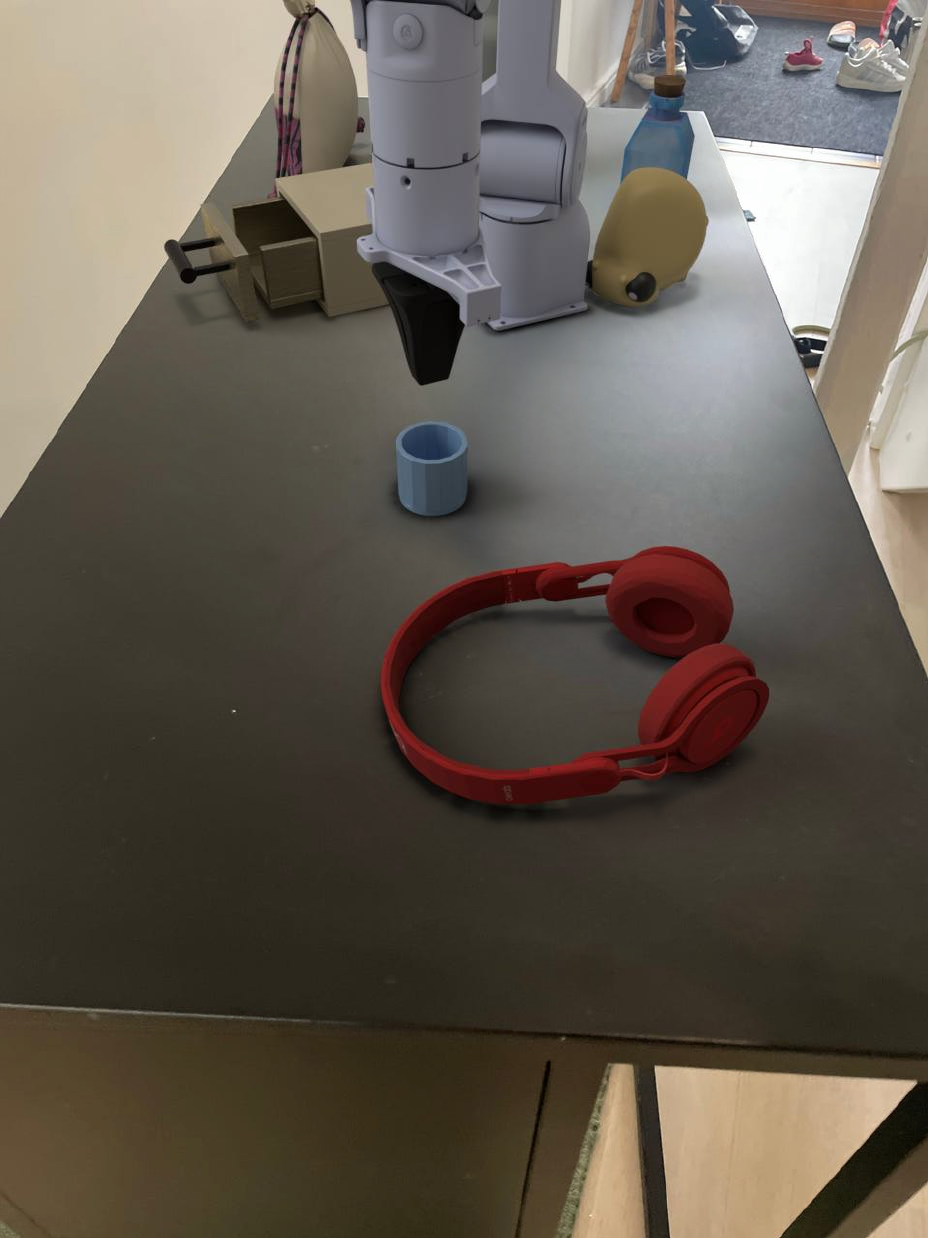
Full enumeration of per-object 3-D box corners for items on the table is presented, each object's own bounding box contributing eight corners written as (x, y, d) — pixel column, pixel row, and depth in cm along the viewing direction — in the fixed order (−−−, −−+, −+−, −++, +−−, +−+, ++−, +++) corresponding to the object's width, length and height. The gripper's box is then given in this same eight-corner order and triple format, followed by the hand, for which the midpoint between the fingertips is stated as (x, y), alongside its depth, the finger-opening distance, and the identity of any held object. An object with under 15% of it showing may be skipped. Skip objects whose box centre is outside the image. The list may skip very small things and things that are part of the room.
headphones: (709, 594, 57) (394, 639, 58) (717, 507, 52) (371, 558, 53) (783, 797, 47) (399, 848, 48) (802, 715, 42) (371, 774, 43)
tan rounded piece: (592, 307, 90) (544, 263, 81) (650, 191, 88) (608, 132, 79) (675, 340, 85) (635, 297, 76) (739, 218, 83) (705, 158, 74)
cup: (449, 466, 67) (449, 414, 63) (478, 505, 64) (479, 452, 60) (388, 483, 65) (385, 431, 62) (414, 523, 62) (413, 470, 59)
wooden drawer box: (328, 317, 81) (319, 232, 76) (285, 258, 89) (274, 178, 84) (475, 285, 86) (477, 203, 80) (422, 232, 93) (420, 154, 88)
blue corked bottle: (683, 195, 100) (706, 74, 92) (674, 218, 96) (696, 92, 88) (628, 187, 102) (645, 67, 93) (616, 209, 98) (632, 85, 89)
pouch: (317, 140, 111) (298, -51, 97) (384, 144, 110) (374, -47, 96) (255, 227, 94) (220, 11, 80) (332, 233, 93) (311, 16, 79)
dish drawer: (196, 332, 78) (182, 266, 73) (166, 275, 85) (151, 212, 80) (390, 291, 83) (387, 227, 79) (347, 240, 90) (341, 179, 86)
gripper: (308, 114, 51) (331, 336, 61) (409, 214, 42) (417, 455, 52) (424, 98, 53) (428, 315, 63) (544, 190, 44) (527, 426, 54)
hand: (430, 377), depth 57 cm, fingers closed
